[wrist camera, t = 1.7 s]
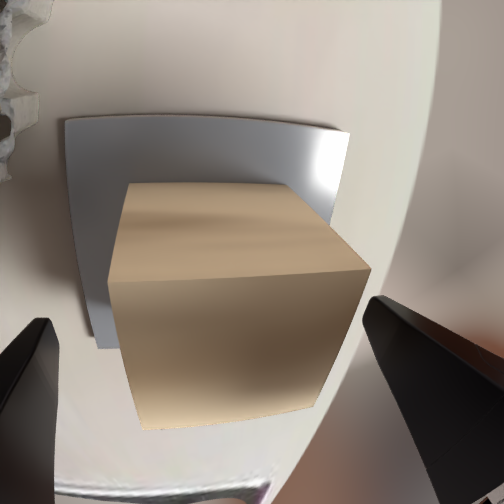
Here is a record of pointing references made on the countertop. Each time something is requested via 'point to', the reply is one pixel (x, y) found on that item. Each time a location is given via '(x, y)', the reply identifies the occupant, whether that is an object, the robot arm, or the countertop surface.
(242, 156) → the tile
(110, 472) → the countertop surface
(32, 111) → the egg carton
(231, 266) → the maple block
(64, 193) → the countertop surface
